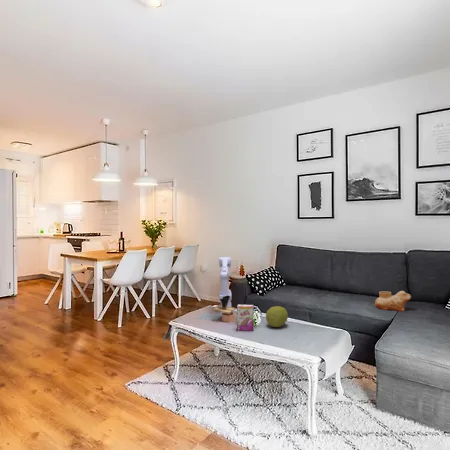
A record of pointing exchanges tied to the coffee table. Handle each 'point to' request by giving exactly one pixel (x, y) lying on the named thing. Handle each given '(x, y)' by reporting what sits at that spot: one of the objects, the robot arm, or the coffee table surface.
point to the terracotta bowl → (228, 317)
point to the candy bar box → (245, 317)
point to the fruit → (276, 316)
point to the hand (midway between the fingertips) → (224, 306)
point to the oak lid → (224, 309)
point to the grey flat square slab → (210, 316)
